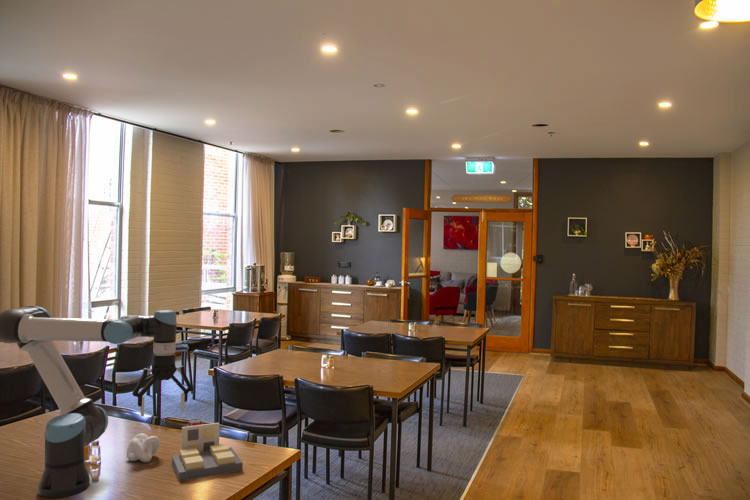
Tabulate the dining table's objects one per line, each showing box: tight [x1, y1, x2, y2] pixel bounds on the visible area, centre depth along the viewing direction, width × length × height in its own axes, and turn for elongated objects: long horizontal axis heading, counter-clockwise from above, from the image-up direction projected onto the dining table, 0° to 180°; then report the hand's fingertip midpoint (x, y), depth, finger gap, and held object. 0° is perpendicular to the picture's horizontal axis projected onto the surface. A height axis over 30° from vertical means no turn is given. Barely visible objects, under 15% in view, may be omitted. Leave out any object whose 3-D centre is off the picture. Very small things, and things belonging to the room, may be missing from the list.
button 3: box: [210, 443, 230, 457], centre depth 215 cm, size 6×6×3 cm
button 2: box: [183, 456, 204, 470], centre depth 202 cm, size 6×6×3 cm
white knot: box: [126, 432, 161, 463], centre depth 216 cm, size 11×12×9 cm
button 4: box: [215, 451, 235, 465], centre depth 207 cm, size 6×6×3 cm
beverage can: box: [186, 418, 204, 427], centre depth 226 cm, size 6×6×12 cm
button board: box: [171, 422, 244, 482], centre depth 210 cm, size 22×22×12 cm
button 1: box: [179, 448, 199, 462], centre depth 210 cm, size 6×6×3 cm
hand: (162, 413), depth 202 cm, fingers open, 13 cm apart
